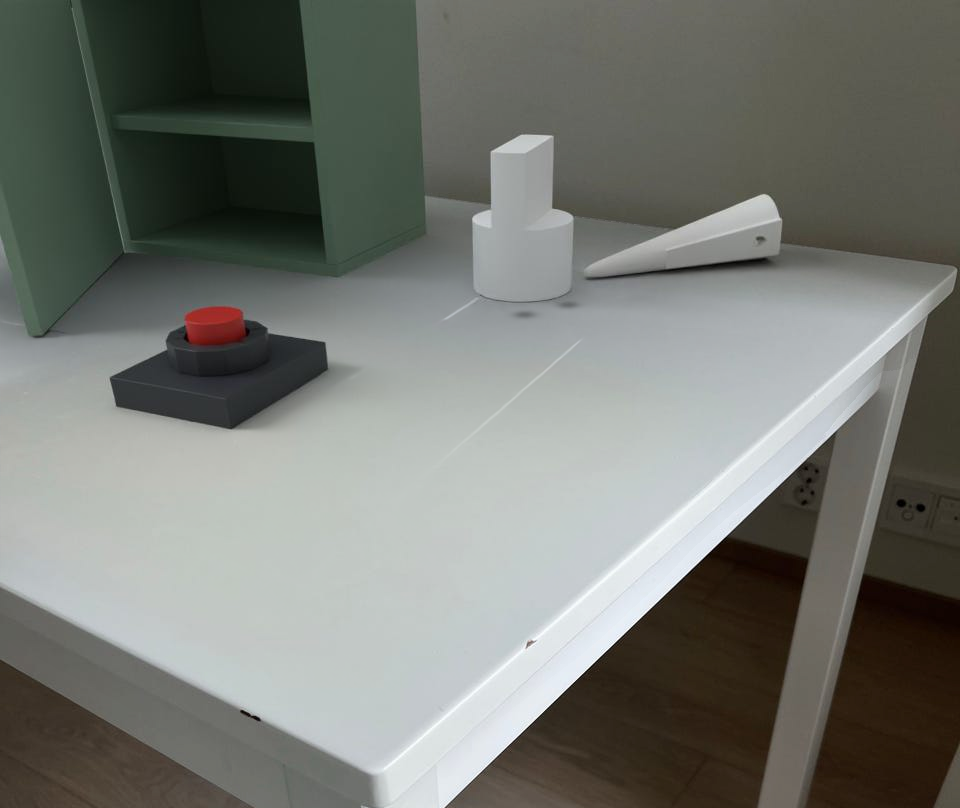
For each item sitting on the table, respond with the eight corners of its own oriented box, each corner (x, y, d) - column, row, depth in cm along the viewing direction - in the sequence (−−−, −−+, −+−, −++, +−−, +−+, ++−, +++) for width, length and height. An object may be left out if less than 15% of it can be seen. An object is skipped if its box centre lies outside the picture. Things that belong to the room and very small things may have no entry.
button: (223, 352, 69) (218, 326, 68) (177, 344, 70) (172, 319, 69) (257, 334, 71) (254, 309, 70) (212, 327, 73) (208, 303, 72)
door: (-44, 338, 83) (-157, -9, 69) (56, 253, 104) (-15, -24, 90) (42, 335, 83) (-53, -11, 69) (124, 252, 104) (64, -26, 90)
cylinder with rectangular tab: (491, 270, 97) (490, 132, 90) (582, 277, 94) (587, 136, 87) (459, 297, 90) (455, 150, 83) (555, 305, 87) (559, 155, 80)
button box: (231, 430, 67) (221, 372, 64) (116, 407, 70) (102, 351, 68) (328, 370, 75) (323, 317, 73) (221, 352, 79) (213, 301, 77)
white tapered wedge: (567, 279, 100) (749, 244, 102) (587, 305, 95) (778, 267, 97) (565, 221, 96) (754, 185, 98) (585, 245, 91) (784, 206, 93)
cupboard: (338, 278, 95) (308, -29, 81) (124, 251, 105) (64, -28, 91) (426, 234, 108) (414, -37, 94) (229, 214, 118) (191, -35, 104)
